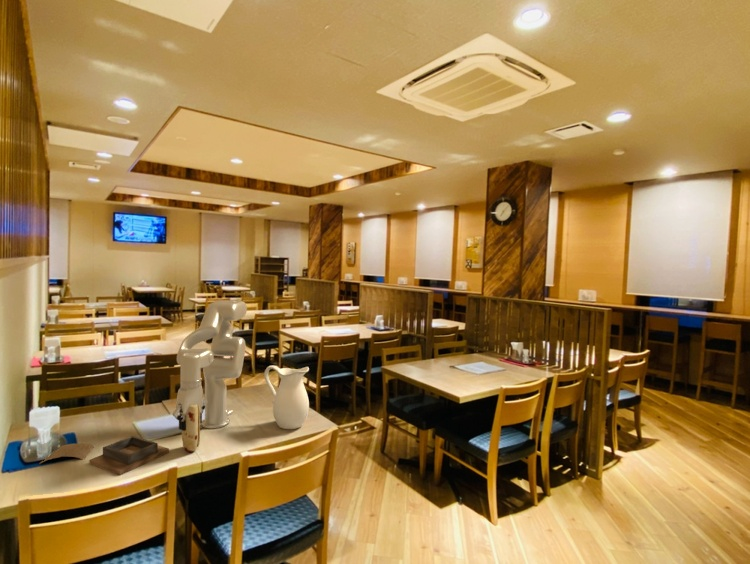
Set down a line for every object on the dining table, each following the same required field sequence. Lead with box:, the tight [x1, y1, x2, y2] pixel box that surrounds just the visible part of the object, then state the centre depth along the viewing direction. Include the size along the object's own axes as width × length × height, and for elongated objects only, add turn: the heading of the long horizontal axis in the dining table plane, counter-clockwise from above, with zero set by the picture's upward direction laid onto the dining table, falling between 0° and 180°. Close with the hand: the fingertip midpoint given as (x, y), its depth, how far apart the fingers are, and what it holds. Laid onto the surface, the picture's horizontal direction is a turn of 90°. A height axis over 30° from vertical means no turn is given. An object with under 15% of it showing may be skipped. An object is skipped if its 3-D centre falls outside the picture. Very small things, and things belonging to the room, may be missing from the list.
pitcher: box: [263, 365, 310, 430], centre depth 195 cm, size 24×17×28 cm
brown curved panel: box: [40, 442, 95, 464], centre depth 158 cm, size 16×11×3 cm
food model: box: [181, 405, 201, 453], centre depth 165 cm, size 10×7×20 cm
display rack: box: [88, 435, 170, 476], centre depth 158 cm, size 20×18×5 cm
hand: (190, 425), depth 165 cm, fingers closed on food model, 7 cm apart
